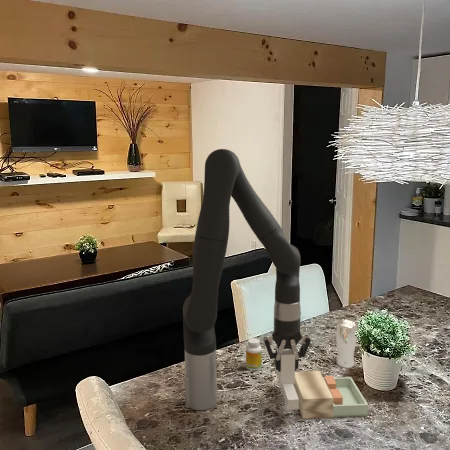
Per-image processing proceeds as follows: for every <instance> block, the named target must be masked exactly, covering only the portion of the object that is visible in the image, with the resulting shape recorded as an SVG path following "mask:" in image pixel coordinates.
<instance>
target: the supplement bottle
mask: <svg viewBox="0 0 450 450" xmlns="http://www.w3.org/2000/svg"><path fill="white" fill-rule="evenodd" d="M260 342H261V340H260V339H259V338H256V337H255V338H254V337H251V338H249V339H248V340H247V345H246V348H245V366H246V369H248V370H250V371H258V370H260V369H261V368H262V367H263V366H262V363H263V362H262V359H263V357H262V356H263V355H262V354H263V353H262V352H263V351H262V349H263V348H262V346H261V345H260V344H261V343H260Z"/></svg>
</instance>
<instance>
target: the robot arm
mask: <svg viewBox="0 0 450 450" xmlns="http://www.w3.org/2000/svg"><path fill="white" fill-rule="evenodd" d="M239 159H240V158H239V157H238V156H237V155H236V153H235V152H234V151H232V150H230V149H227V148H219V149H216V150H215V149H214V150H213V151H212V152H210V154H208V155H207V158H206V159H205V162H204V182H203V197H202V202H201V207H200V210H199V214H198V219H197V223H196V224H197V225H196V229H195V235H194V241H193V249H192V250H193V251H192V275H193V276H192V286H191V287H192V289H191V292H190V294H189V296H187V298H186V299H185V301H184V302H183V305H182V325H183V327H182V328H183V342H184V343H183V344H184V369H185V372H184V391H185V392H184V394H185V395H184V397H185V408H186V409H188V408H189V409H191V410H196V411H206V410H210V409H212V408H213V407H215V406H216V404H217V402H218V400H217V399H218V394H217V392H218V391H217V388H218V387H217V386H218V385H217V377H218V376H217V339H216V332H215V331H216V330H215V329H216V328H215V324H216V321H217V319H218V302H219V287H220V282H221V278H222V274H223V270H224V264H225V259H226V254H227V248H228V243H229V242H228V241H229V235H230V204H231V203H230V202H231V200H232V199H233V201H234V202H235V204H236V206H237V207H238V208H239V210H240V212H241V214H242V216H243V218H244V220H245V221H246V223H247V225H248V226H249V228H250V230H252V232H253V234H254V235H255V236H256V238H257V240H258V241H259V243H261V245H262V246H263V247H264V249H265V251H266V253H267V254H268V257H269V259H270V260H271V263H272V264H273V266H274V267H275V275H276V277H275V278H276V279H275V284H274V285H275V286H274V305H273V333H272V335H271V336H268V337H267V336H264V337H263V343H264V345H265V347H266V351H267V353H268V356H269V358H270V359H274V367H275V371H276V370H278V372H281V360H280V357H281V354H282V352H283V349H292V351H293V353H294V354H295V372H297V370H298V369H299V366H300V365H299V364H300V363H299V361H300V358H305V357H306V354H307V352H308V349H309V347H310V344H311V341H312V340H311V338H310V336H309V334H308V335H307V334H306V335H303V334H302V333H301V315H302V312H301V311H302V310H301V307H302V306H301V287H300V286H301V284H300V267H301V264H302V260H301V253H300V250H299V249H298V247H296V246H295V245H293V244H291V243H290V242H289V240H288V239H287V238H286V236H285V233H284V230H283V228H282V227H281V225H280V223H278V222H279V221H277V220H276V218H275V216H274V214H272V212H271V211H270V210H269V209H268V207H267V206H266V205H265V203H264V202H263V200H262V199H261V198H260V196H259V195H258V193H256V191H255V189H254V188H253V186H252V184H251V183H250V182H249V180H248V178H247V176H246V174H245V171H244V170H243V168H242V165H241V162H240V160H239ZM231 198H232V199H231ZM273 342H274V343H275V344H276V347H275V352H273V350H272V347H271V345H273ZM300 342H301V346H300V349H299V351H298V349H297V348H298V347H297V345H298V344H299V343H300Z"/></svg>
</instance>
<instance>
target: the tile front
mask: <svg viewBox="0 0 450 450" xmlns="http://www.w3.org/2000/svg"><path fill="white" fill-rule="evenodd" d="M330 392H331V394H332V396H333V402H334V404H335V405H343V397H342V395H341V393H340V391H339V389H330Z"/></svg>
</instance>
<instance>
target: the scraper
mask: <svg viewBox="0 0 450 450" xmlns="http://www.w3.org/2000/svg"><path fill="white" fill-rule="evenodd" d="M280 360H281V372H278V370H276V369H275V374H276V377H277V381H278V383H279V386H280V390H281V392H282V396H283V399H284V402H285V407H286V408H287V410H289V411H292V410H293V411H294V410H300V409H299V399H298V396H297V393H296V391H295V388H294V385H293V384H295V372H296V371H295V354H294V353H293V351H292V349H283V352H282V354H281V357H280Z"/></svg>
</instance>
